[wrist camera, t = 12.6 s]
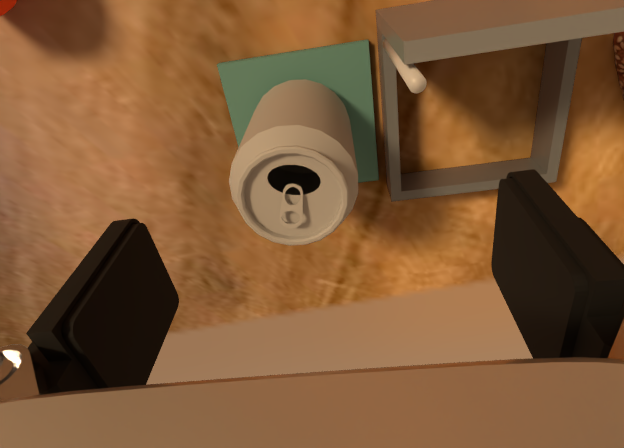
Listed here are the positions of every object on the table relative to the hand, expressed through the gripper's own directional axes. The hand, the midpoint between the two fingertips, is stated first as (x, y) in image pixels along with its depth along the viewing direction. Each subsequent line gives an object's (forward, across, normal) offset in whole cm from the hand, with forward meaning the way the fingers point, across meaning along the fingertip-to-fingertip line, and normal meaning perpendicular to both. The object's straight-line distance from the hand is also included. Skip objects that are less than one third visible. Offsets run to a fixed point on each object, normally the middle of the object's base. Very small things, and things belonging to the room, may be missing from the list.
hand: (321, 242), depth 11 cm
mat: (+23, +3, +5) cm, 24 cm away
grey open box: (+23, -10, +5) cm, 26 cm away
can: (+23, +3, +5) cm, 23 cm away
